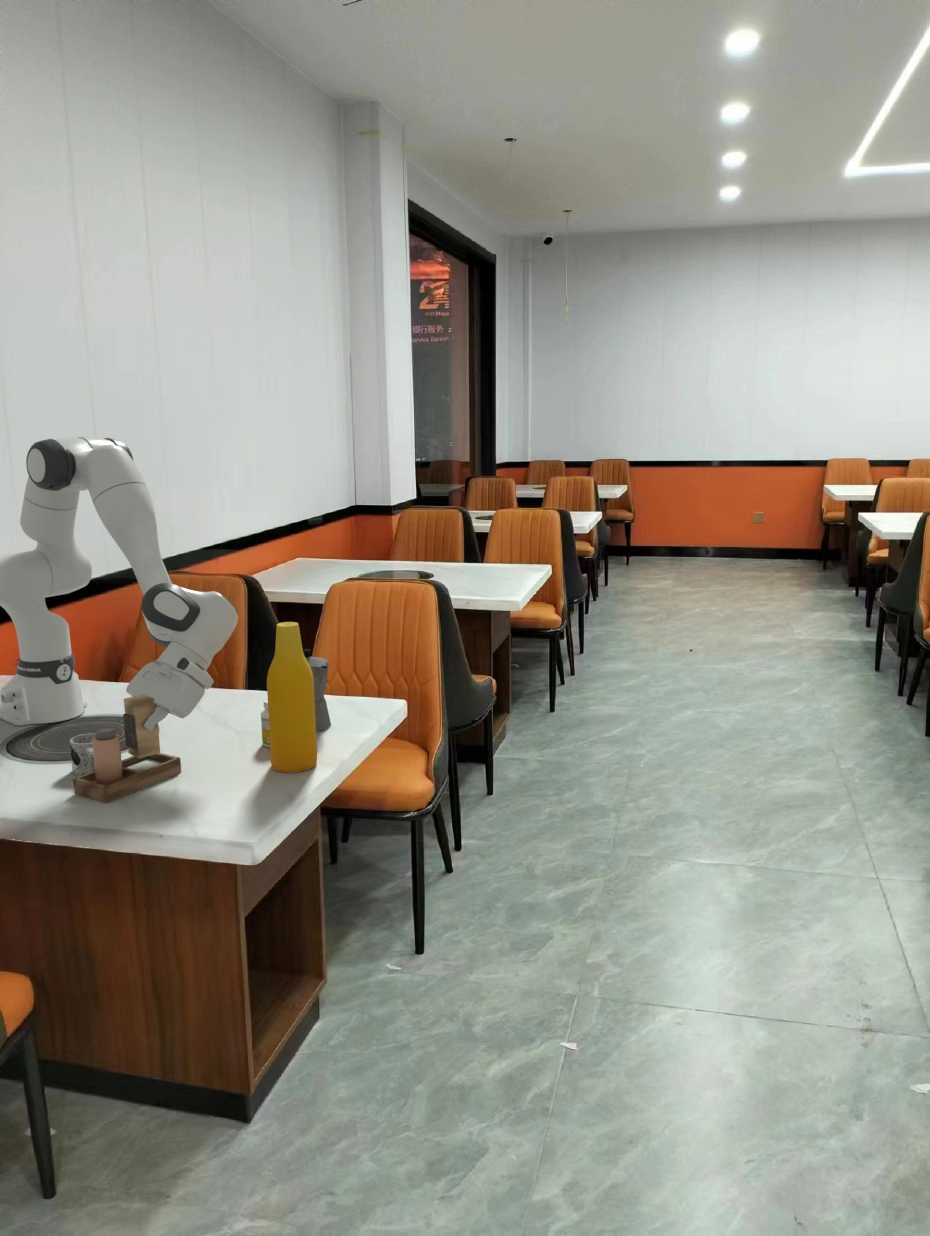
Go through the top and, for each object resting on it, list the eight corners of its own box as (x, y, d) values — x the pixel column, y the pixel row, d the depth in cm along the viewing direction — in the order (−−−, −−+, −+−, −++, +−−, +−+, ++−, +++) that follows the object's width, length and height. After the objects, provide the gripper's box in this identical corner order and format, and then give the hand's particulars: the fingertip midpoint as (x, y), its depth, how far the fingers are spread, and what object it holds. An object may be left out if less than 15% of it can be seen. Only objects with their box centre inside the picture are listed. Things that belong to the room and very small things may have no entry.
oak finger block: (125, 753, 193) (120, 699, 190) (149, 747, 196) (145, 694, 194) (136, 759, 189) (131, 704, 187) (160, 752, 193) (155, 698, 191)
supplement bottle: (278, 738, 216) (276, 695, 214) (293, 743, 212) (291, 700, 210) (257, 744, 212) (255, 700, 210) (271, 750, 208) (269, 705, 206)
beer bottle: (273, 758, 203) (266, 619, 197) (319, 756, 204) (313, 618, 198) (268, 774, 194) (260, 629, 188) (315, 772, 195) (309, 628, 189)
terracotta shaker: (90, 784, 186) (85, 732, 184) (111, 776, 190) (106, 725, 188) (108, 789, 183) (103, 736, 181) (128, 781, 187) (124, 729, 185)
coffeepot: (345, 727, 222) (342, 649, 219) (313, 738, 215) (309, 657, 212) (301, 714, 232) (297, 639, 229) (269, 724, 225) (264, 647, 222)
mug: (71, 767, 199) (68, 736, 198) (106, 762, 202) (103, 731, 200) (74, 784, 190) (71, 751, 189) (111, 779, 193) (108, 746, 191)
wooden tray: (74, 794, 185) (73, 778, 185) (149, 764, 200) (148, 750, 200) (107, 803, 181) (105, 787, 180) (181, 772, 196) (180, 757, 195)
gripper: (144, 648, 201) (102, 705, 197) (196, 666, 187) (151, 727, 182) (166, 666, 205) (126, 721, 201) (218, 684, 191) (175, 744, 186)
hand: (138, 724), depth 191 cm, fingers closed on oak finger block, 4 cm apart
